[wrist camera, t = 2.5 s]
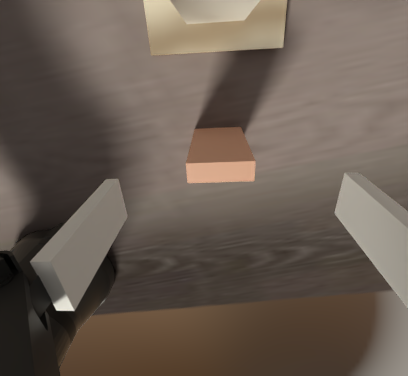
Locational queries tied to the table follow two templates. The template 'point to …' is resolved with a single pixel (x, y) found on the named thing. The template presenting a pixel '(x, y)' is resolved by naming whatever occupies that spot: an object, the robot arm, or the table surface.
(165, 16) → the board
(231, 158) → the domino
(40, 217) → the table surface
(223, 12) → the domino
